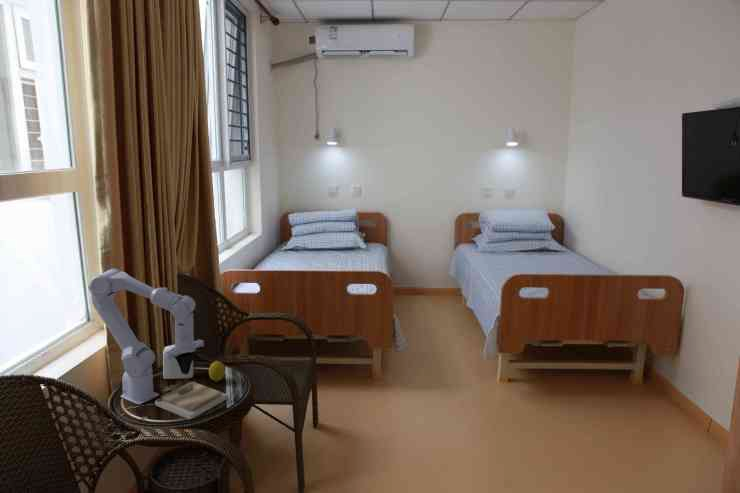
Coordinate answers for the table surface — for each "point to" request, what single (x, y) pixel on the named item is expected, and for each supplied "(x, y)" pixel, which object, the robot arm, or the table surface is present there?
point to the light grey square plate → (186, 412)
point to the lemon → (216, 371)
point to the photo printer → (174, 367)
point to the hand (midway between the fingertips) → (185, 373)
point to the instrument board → (191, 395)
